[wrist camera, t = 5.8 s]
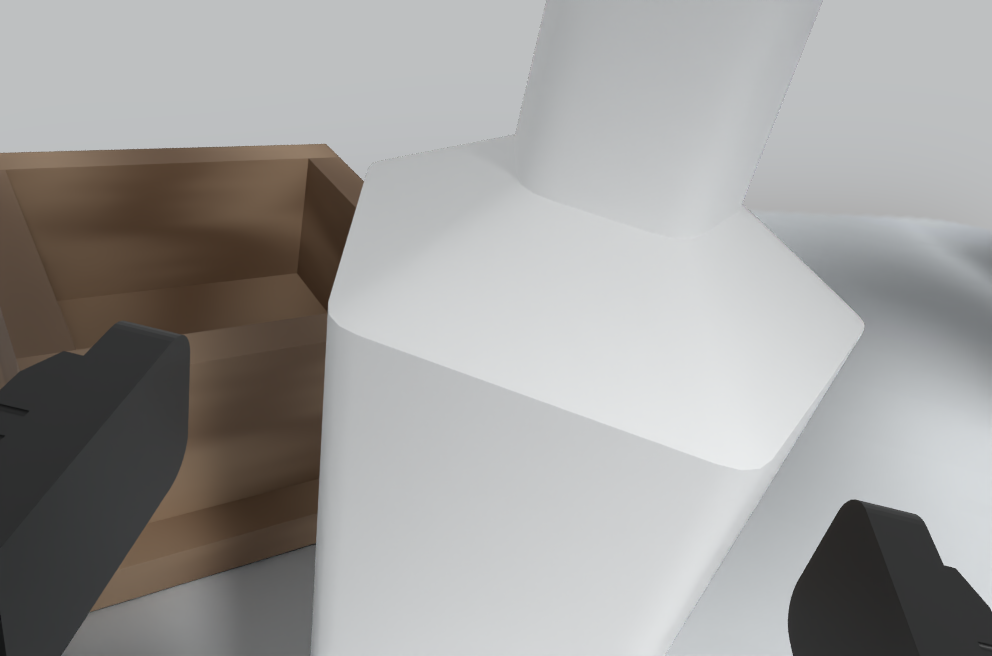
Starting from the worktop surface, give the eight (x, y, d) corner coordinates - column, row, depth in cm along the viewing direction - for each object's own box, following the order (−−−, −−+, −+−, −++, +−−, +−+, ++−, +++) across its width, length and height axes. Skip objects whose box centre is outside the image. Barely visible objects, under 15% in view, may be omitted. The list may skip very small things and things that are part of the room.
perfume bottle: (178, 893, 13) (214, -217, 6) (414, 759, 16) (662, -124, 8) (312, 1240, 11) (759, -16, 3) (571, 1009, 13) (1175, 28, 5)
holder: (325, 263, 31) (341, 130, 28) (509, 484, 23) (554, 329, 20) (-72, 307, 24) (-100, 139, 21) (-4, 639, 16) (-33, 439, 14)
